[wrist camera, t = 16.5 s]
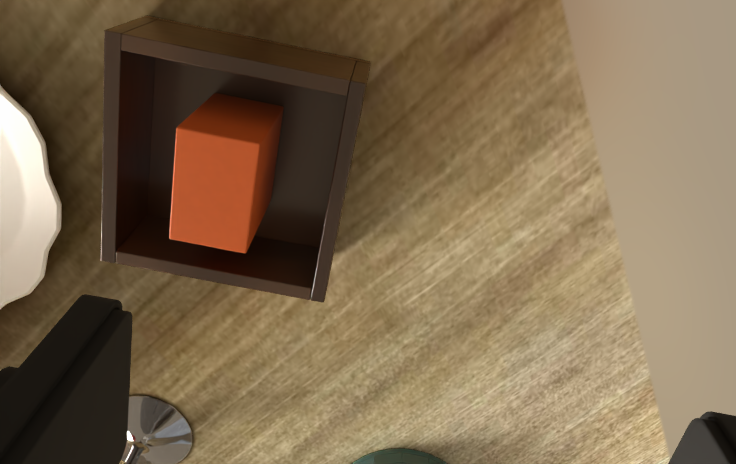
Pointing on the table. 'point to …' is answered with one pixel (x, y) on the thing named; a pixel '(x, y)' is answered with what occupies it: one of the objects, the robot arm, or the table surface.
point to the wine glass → (155, 433)
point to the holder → (293, 165)
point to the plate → (24, 202)
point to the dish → (399, 457)
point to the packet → (224, 172)
